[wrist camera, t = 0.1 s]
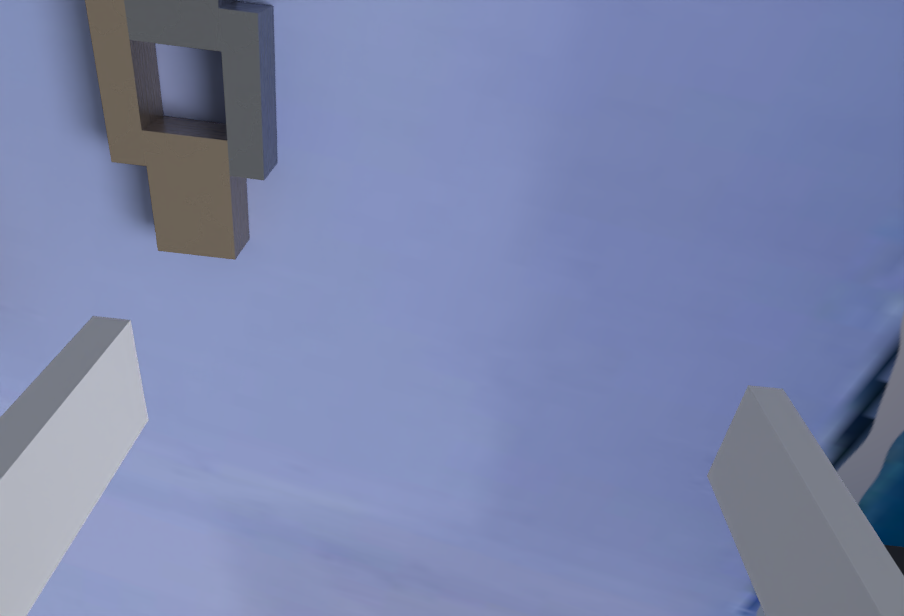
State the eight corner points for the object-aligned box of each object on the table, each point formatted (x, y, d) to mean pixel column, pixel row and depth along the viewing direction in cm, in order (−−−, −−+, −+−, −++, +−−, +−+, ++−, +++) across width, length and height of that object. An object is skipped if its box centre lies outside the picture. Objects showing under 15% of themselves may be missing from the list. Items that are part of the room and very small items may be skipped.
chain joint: (94, -137, 32) (61, -141, 30) (270, -113, 33) (252, -115, 30) (146, 227, 43) (125, 246, 40) (279, 242, 43) (267, 263, 41)
